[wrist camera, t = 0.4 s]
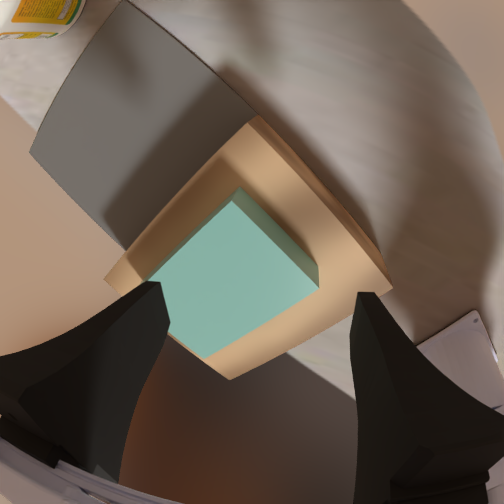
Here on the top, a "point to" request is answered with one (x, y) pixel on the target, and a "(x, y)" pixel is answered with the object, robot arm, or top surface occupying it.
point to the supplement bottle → (37, 17)
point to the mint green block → (232, 276)
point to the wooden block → (289, 219)
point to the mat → (134, 123)
